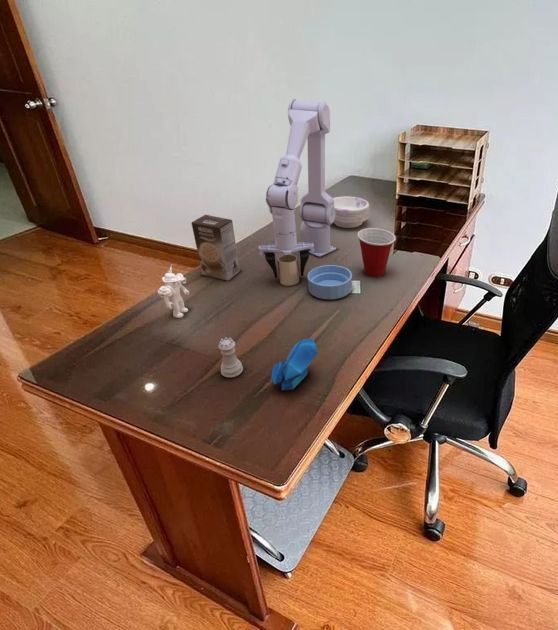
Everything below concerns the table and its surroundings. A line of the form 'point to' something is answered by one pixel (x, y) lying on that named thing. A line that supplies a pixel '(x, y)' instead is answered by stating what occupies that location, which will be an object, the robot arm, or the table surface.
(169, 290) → the flower shoulder figurine
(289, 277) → the cup
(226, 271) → the coffee box
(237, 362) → the rook chess piece
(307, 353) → the crystal
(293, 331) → the table surface
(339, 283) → the bowl
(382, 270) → the plastic cup
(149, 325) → the table surface
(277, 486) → the table surface
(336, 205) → the paper bowls
